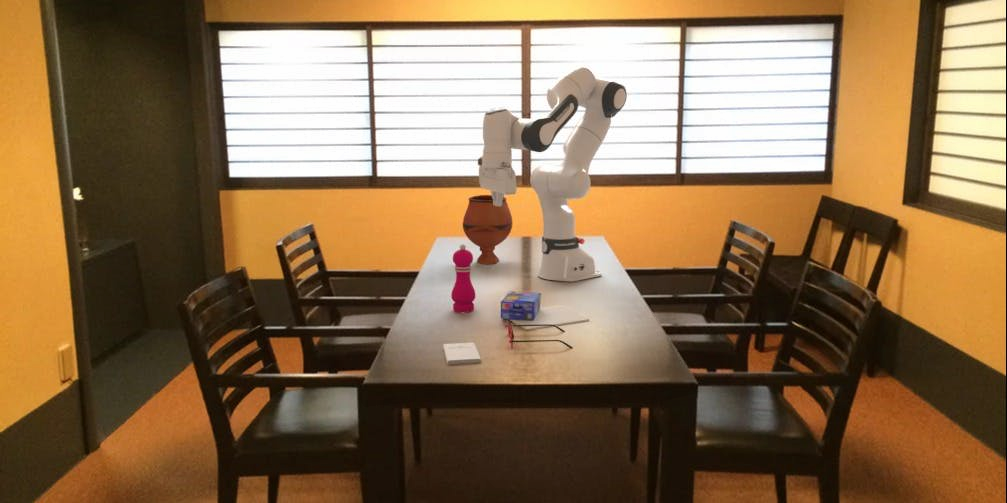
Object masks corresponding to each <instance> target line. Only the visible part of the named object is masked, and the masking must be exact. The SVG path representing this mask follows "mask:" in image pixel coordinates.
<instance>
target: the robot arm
mask: <svg viewBox="0 0 1007 503" xmlns="http://www.w3.org/2000/svg"><path fill="white" fill-rule="evenodd" d="M626 89H627V88H626V87H625V85H623V84H622V83H620V82H618V81H617V80H616V81H615V80H610V79H608V78H604V77H596V75H595V72H593V70H592V69H591V68H589V67H587V66H582V65H579V66H577V67H575V68H573V69H571V70H569V71H567V72H565V73H564V74H563V75H561V76H560V77H559V78H557V79H556V80H555V81H554V82H553V83H552V84H551V85H550V86H549V87H548V89H547V92H546V100H547V103H548V106H549V107H550V109H551V110H550V111H549V112H548V113H547V115H545V116H543V117H539V118H521V117H519V116H517V115H515V114H513V113H512V112H511V111H510V109H509V107H508V108H507V107H495V108H491V109H489V110H487V111H486V112H485V114H484V116H483V122H482V139H483V149H482V156H480V157H479V158H478V159H477V165H478V181H479V186H480V188H481V189H485V190H488V191H490V192H491V193H490V195H492V198H493V205H495V206H502V200H503V197H505V195H507V196H509V195H516V192H517V177H516V172H515V170H514V168H513V166H512V165H513V164H512V161H513V160H512V154H513V153H512V152H513V151H512V150H513V149H515V150H521V151H531V152H535V153H543V152H546V151H547V150H548V149H549V148H550V147H551V145H552V143H553V142H554V140H555V138H556V137H557V135H558V134H559V132H560V131H561V130H562V129H563V128H564V127H565V126H566V124H568V123H569V121H570V120H571V119H572V118H573V117H574V115H576V113H577V111H578V109H579V107H582V108H584V110H585V111H584V114H583V115H582V117H581V118H580V119H579V120H578V122H577V123H576V124H575V126H574V128H573V129H572V131H571V132H570V134H569V136H568V137H567V139H566V140H565V142H564V144H563V146H562V149H563V153H564V159H563V161H562V163H561V164H560V165H557V164H548V163H547V164H542V165H539V166H537V167H535V168H533V170H532V171H531V175H530V179H529V181H530V186H531V188H532V189H533V190H534V191H535V193H536V195H537V197H538V201H539V204H540V208H541V212H542V213H541V214H542V229H543V230H542V236H541V252H542V255H541V263H540V266H539V267H540V268H539V272H538V274H537V275H538V277H539V278H541V279H545V280H549V281H559V282H561V281H563V282H567V283H569V282H570V283H571V282H577V281H578V282H579V281H582V280H587V279H592V278H597V277H601V276H602V272H601V271H600V270H599V269H596V265H595V259H594V258H593V255H592V256H591V255H590V254H589V253H588V252H587V251H585V250H584V249H583V248H582V247H581V246H580V244H581V245H584V243H586V242H585V238H582V237H577V236H576V215H575V213H574V211H573V210H572V209H571V207H570V205H569V203H568V202H569V201H570V200H571V201H572V200H579V199H583V198H585V197H586V196H587V195H588V193H589V192H590V189H591V185H592V184H591V182H592V181H591V178H590V176H589V169H590V165H591V163H592V160H593V159H594V157H595V156H596V153H597V152H598V151H599V149H600V147H601V145H602V143H603V141H605V139H606V136H607V133H608V131H609V129H610V126H611V124H612V118H613V117H615V116H616V115H617V114H618V113H619V112H620V111H621V110H622V109H623V108H624V106H625V105H626V102H627V97H628V96H627V94H628V93H627V90H626ZM568 200H569V201H568Z"/></svg>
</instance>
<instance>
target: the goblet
mask: <svg viewBox="0 0 1007 503" xmlns="http://www.w3.org/2000/svg"><path fill="white" fill-rule="evenodd" d="M464 213H465V214H464V216H463V219H462V229H463V232H464V234H465V236H466V237H467V238H468V240H469V241H470V242H471V243H473V244H474V245H475V246H477V247H479V251H480V252H481V254H480V255H479V256H478V258H477V259H476V262H477V263H478V264H481V265H494V264H493V263H495V264H497V262H498V263H499V262H500V259H499V257H498V256H497V255H496V254H495V253H494V251H495V250H496V247H497V246H499V245H500V244H502V243H503V242H504V241H505V240H506V239H507V238H508V236H509V235H510V233H511V231H512V228H513V216H512V213H511V209H510V208H509V205H508V202H507V197H505V196H504V197H503V200H502V206H495V205H493V198H492V195H491V194H481V195H474V196H470V197H469V198H468V205H467V207H466V211H465V212H464Z"/></svg>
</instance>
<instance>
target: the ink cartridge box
mask: <svg viewBox="0 0 1007 503" xmlns="http://www.w3.org/2000/svg"><path fill="white" fill-rule="evenodd" d="M541 297H542V294H541V292H534V291H533V292H532V291H520V290H518V291H517V290H510V291H508V293H506V295H505V296H504V297H503V299H502V300H501V301H500V319H501V320H509V319H512V320H513V319H516V320H530V321H534V319H535V317H536V315H537V313H538V312H539V310H540V308H541V301H542V300H541Z"/></svg>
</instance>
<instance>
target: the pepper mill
mask: <svg viewBox="0 0 1007 503" xmlns="http://www.w3.org/2000/svg"><path fill="white" fill-rule="evenodd" d="M466 248H467V246H466V245H465V244H463V243H462V244H460V245H459V249H458V250H456V251H455V252H454V253H453V255H452V262H453V263H454V264H455V265H454V271H455V275H456V278H455V283H454V285H453V288H452V289H451V296H450V297H451V299H452V301H453V302H454V303H453V304H452V305H453V306H452V307H453V308H452V310H453V311H454V312H455V313H462V312H464V313H471V312H473V311H474V310H475V304H474V300H475V299H476V291H475V288H474V285H473V284H472V281H471V271H472V270H473V269H472V265H471V264H472V263H473V260H474V256H473V253H472V252H471V251H470V250H468V249H466Z"/></svg>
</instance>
